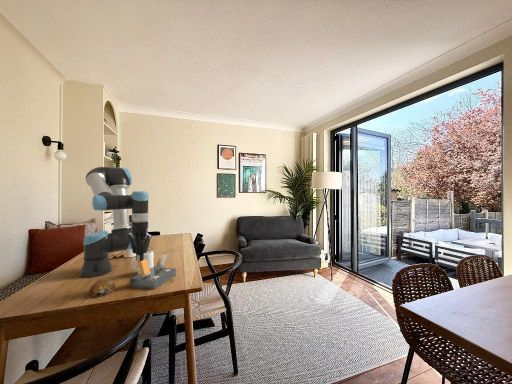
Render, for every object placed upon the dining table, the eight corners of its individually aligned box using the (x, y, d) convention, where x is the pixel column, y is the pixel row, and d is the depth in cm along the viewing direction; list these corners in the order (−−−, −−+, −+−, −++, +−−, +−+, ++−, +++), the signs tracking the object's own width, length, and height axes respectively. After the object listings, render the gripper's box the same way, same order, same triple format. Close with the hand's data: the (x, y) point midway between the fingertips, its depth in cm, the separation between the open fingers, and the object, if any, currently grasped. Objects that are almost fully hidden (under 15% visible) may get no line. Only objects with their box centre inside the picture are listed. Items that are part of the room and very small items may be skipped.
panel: (130, 286, 112) (130, 262, 112) (154, 273, 130) (153, 252, 129) (154, 289, 109) (154, 264, 109) (175, 275, 126) (175, 254, 126)
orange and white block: (141, 278, 112) (137, 262, 113) (148, 274, 117) (144, 259, 118) (144, 277, 112) (140, 261, 112) (151, 273, 117) (147, 258, 117)
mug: (131, 277, 123) (131, 256, 123) (130, 273, 130) (130, 252, 130) (154, 273, 130) (154, 252, 129) (152, 269, 137) (152, 249, 137)
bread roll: (117, 296, 109) (121, 279, 112) (105, 296, 100) (109, 277, 103) (96, 297, 109) (101, 279, 112) (82, 297, 99) (87, 278, 103)
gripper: (124, 221, 113) (123, 268, 113) (145, 222, 110) (145, 270, 110) (135, 219, 120) (135, 263, 120) (155, 220, 117) (155, 265, 117)
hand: (139, 266), depth 115 cm, fingers closed
